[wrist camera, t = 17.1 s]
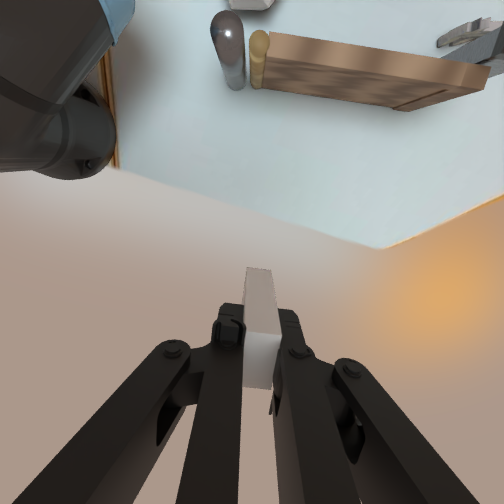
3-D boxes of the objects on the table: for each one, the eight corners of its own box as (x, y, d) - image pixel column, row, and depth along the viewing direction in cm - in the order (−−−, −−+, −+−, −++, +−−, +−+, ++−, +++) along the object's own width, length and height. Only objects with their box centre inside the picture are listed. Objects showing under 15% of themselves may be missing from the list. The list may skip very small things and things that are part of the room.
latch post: (401, 95, 41) (501, 53, 24) (407, 73, 40) (515, 14, 23) (430, 99, 41) (548, 61, 24) (436, 77, 40) (564, 23, 24)
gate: (249, 87, 40) (247, 53, 27) (251, 72, 39) (250, 28, 26) (408, 111, 41) (483, 89, 28) (412, 96, 40) (491, 66, 27)
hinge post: (225, 88, 40) (208, 47, 25) (227, 65, 39) (211, 7, 24) (245, 92, 40) (241, 52, 25) (248, 68, 39) (245, 13, 24)
